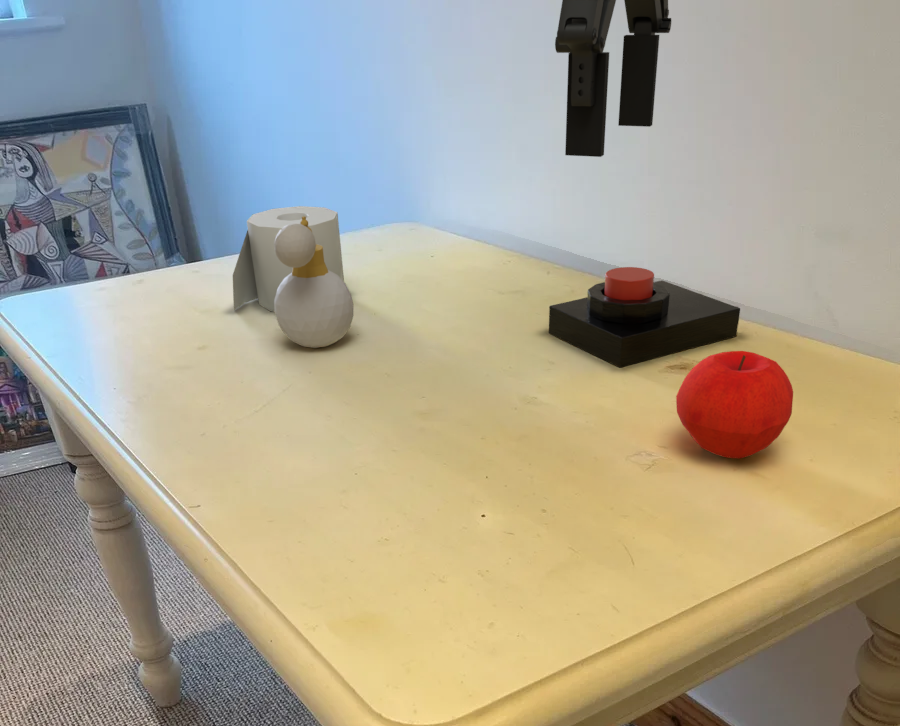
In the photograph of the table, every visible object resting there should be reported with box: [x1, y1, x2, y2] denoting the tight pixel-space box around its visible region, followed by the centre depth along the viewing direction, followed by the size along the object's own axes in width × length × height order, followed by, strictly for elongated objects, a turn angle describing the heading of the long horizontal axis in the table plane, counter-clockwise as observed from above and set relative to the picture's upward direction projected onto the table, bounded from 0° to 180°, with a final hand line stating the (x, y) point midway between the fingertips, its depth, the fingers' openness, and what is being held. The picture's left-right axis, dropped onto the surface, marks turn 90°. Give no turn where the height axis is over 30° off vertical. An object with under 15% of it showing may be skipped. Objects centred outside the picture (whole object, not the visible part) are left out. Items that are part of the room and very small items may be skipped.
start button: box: [604, 266, 655, 300], centre depth 86 cm, size 4×4×2 cm
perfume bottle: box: [273, 216, 354, 349], centre depth 86 cm, size 8×10×12 cm
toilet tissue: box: [232, 205, 345, 312], centre depth 99 cm, size 9×13×9 cm
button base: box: [548, 280, 741, 368], centre depth 88 cm, size 14×11×4 cm
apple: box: [675, 350, 794, 459], centre depth 67 cm, size 8×8×7 cm
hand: (611, 140), depth 73 cm, fingers open, 13 cm apart
